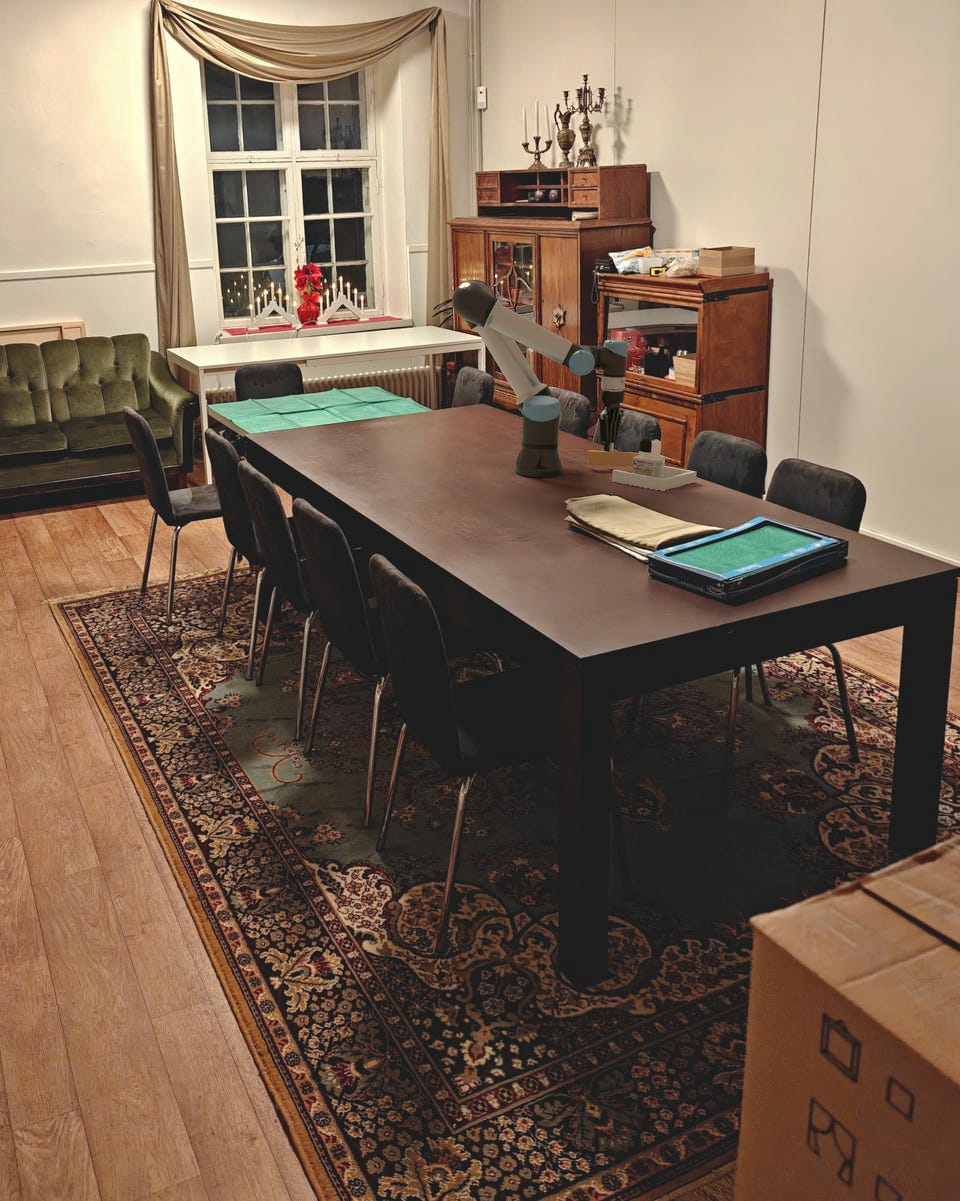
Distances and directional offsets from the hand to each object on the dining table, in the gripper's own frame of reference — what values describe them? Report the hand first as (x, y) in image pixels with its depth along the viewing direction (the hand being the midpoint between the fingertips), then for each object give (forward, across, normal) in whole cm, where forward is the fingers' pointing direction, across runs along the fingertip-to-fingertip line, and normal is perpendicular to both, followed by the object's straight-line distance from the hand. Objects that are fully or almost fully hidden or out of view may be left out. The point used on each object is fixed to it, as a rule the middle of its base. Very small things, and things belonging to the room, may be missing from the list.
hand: (607, 462), depth 372 cm
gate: (0, -1, -4) cm, 4 cm away
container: (+2, -8, -19) cm, 21 cm away
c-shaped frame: (+2, -8, -21) cm, 23 cm away
